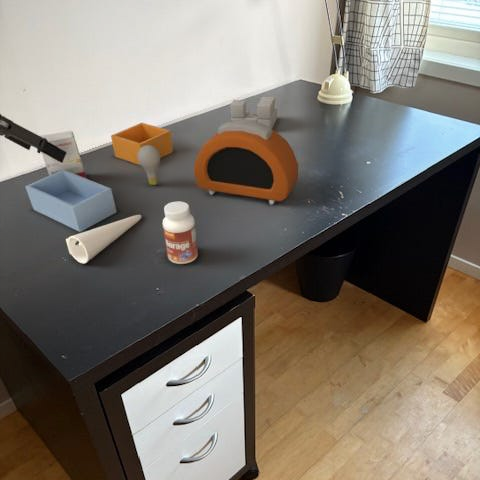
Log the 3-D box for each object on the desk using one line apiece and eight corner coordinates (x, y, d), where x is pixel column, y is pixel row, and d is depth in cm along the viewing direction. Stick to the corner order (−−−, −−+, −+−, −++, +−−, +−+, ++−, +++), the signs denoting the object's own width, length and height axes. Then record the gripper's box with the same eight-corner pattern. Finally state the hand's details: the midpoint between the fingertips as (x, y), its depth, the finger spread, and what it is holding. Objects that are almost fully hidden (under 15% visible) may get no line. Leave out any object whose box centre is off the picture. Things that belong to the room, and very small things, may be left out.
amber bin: (115, 156, 134) (110, 135, 130) (145, 143, 141) (141, 122, 137) (143, 166, 129) (139, 144, 125) (173, 151, 135) (170, 130, 131)
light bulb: (143, 181, 122) (136, 142, 116) (164, 179, 123) (158, 140, 116) (142, 190, 118) (134, 151, 112) (164, 189, 119) (158, 149, 112)
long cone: (160, 232, 106) (90, 267, 94) (140, 227, 110) (71, 259, 97) (156, 208, 103) (83, 240, 91) (136, 203, 107) (63, 233, 94)
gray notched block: (277, 119, 152) (277, 92, 146) (270, 133, 143) (270, 105, 138) (240, 117, 154) (239, 91, 149) (231, 131, 145) (230, 103, 140)
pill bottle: (163, 264, 94) (155, 214, 87) (172, 246, 99) (164, 198, 91) (194, 266, 94) (188, 216, 86) (201, 248, 98) (196, 200, 91)
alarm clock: (195, 193, 116) (187, 124, 105) (210, 178, 122) (204, 110, 111) (287, 208, 109) (289, 135, 98) (298, 191, 115) (301, 120, 104)
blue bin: (33, 209, 113) (25, 186, 109) (70, 192, 119) (63, 169, 115) (80, 232, 105) (72, 207, 101) (116, 212, 111) (111, 188, 107)
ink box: (85, 174, 126) (73, 129, 118) (87, 182, 123) (75, 136, 115) (51, 180, 124) (36, 135, 116) (52, 188, 121) (37, 142, 113)
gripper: (-75, 109, 103) (12, 153, 121) (-14, 133, 91) (72, 178, 109) (-62, 77, 102) (23, 126, 121) (1, 96, 90) (84, 147, 109)
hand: (46, 151), depth 115 cm, fingers open, 13 cm apart
